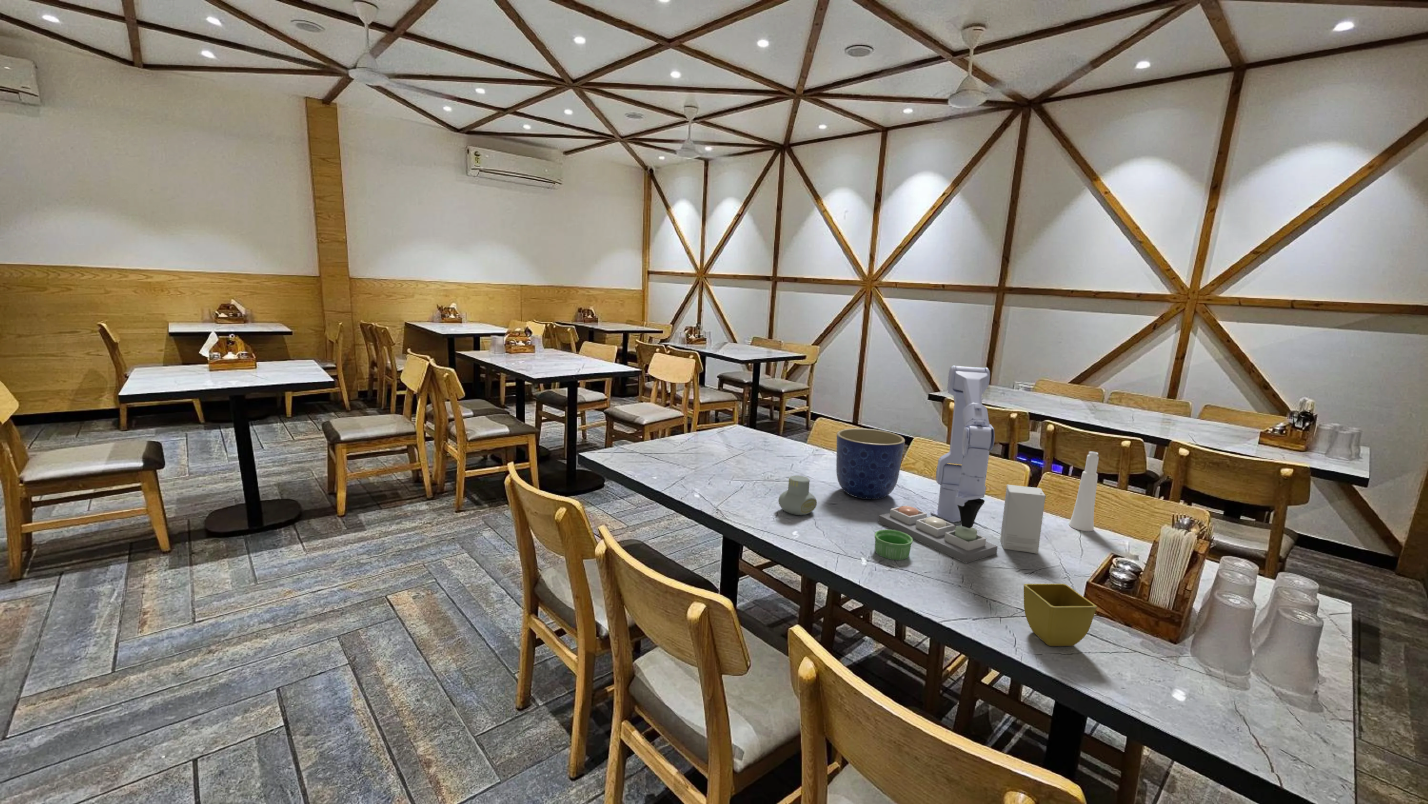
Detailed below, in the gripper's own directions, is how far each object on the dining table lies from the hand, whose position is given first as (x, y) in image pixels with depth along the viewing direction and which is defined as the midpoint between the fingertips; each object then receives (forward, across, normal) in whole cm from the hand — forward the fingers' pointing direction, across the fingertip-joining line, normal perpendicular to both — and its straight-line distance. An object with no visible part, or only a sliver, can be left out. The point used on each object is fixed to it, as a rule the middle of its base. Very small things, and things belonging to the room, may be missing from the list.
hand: (966, 526), depth 146 cm
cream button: (+4, -2, -9) cm, 10 cm away
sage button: (+3, 0, 0) cm, 3 cm away
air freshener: (+7, +11, -43) cm, 45 cm away
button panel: (+6, -2, -9) cm, 11 cm away
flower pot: (+7, +27, +27) cm, 39 cm away
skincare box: (+7, -13, +9) cm, 17 cm away
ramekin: (+7, +16, -11) cm, 20 cm away
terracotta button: (+4, -5, -17) cm, 19 cm away
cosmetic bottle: (+6, -43, +16) cm, 46 cm away
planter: (+6, -19, -38) cm, 43 cm away
